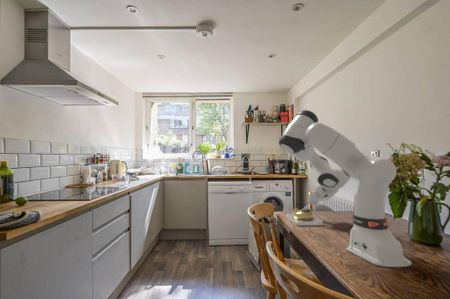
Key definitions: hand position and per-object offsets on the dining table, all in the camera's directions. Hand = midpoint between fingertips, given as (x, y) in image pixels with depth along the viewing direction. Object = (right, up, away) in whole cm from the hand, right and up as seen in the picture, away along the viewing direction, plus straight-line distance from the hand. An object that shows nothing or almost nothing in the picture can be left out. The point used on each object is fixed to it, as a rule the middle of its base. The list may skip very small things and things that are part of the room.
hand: (312, 204), depth 148 cm
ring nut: (-6, -7, -3) cm, 9 cm away
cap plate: (-7, -9, -4) cm, 12 cm away
